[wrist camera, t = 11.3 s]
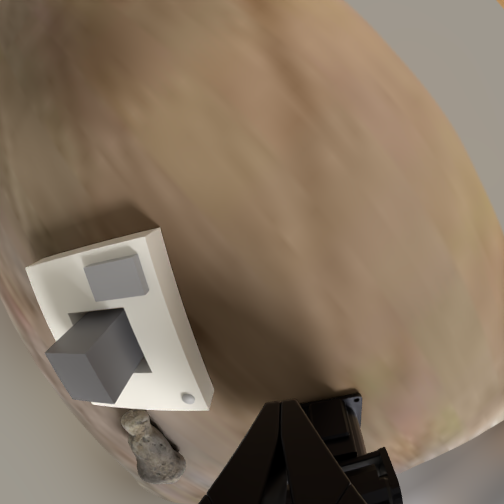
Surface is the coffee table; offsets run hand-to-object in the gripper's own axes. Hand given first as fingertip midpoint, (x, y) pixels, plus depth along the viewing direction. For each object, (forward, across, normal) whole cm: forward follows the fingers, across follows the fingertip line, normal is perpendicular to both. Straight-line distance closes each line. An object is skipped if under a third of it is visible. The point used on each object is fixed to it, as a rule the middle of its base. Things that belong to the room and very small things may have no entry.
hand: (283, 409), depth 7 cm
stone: (+12, +16, +18) cm, 27 cm away
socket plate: (+12, +13, +3) cm, 18 cm away
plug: (+12, +13, +3) cm, 18 cm away
